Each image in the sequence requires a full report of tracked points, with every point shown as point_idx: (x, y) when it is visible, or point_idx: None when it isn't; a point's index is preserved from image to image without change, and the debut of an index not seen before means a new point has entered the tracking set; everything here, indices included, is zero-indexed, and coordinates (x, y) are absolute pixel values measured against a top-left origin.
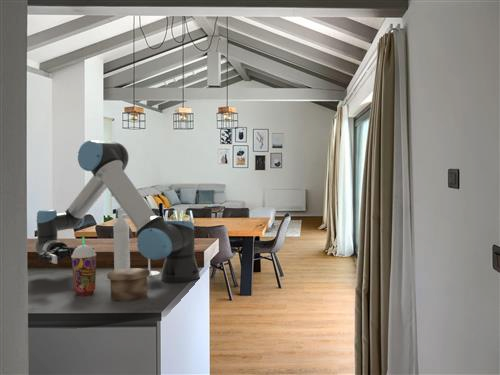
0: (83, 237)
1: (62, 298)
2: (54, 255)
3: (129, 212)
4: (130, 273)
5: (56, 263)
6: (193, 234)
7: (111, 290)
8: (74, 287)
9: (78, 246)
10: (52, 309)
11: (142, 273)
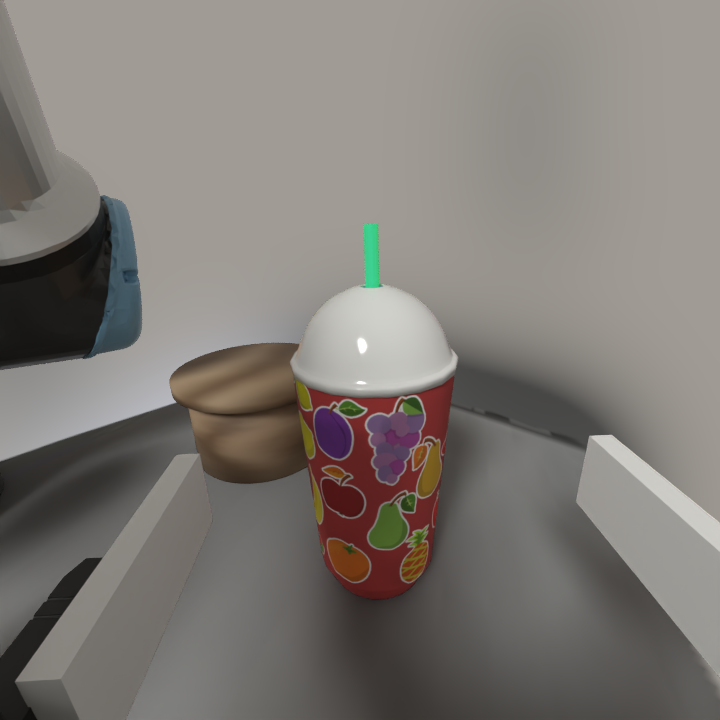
0: (372, 226)
1: (498, 545)
2: (635, 466)
3: (18, 57)
4: (259, 360)
5: (583, 499)
6: None
7: None
8: (434, 530)
9: (407, 294)
10: (527, 449)
11: (237, 351)
